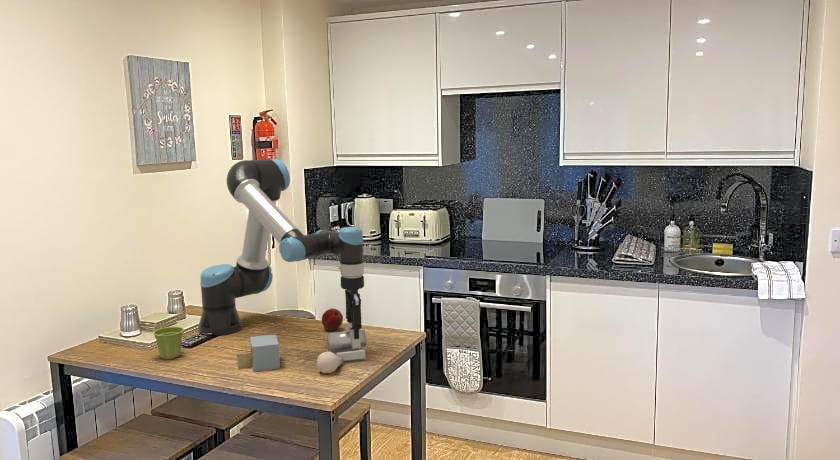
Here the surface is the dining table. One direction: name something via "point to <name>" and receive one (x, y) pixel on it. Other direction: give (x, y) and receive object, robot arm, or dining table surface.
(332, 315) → the apple
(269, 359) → the block
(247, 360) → the translucent yellow block
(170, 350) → the plant pot
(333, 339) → the silver metal cylinder
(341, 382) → the dining table surface
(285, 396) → the dining table surface
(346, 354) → the rest
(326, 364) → the beige ball knob
